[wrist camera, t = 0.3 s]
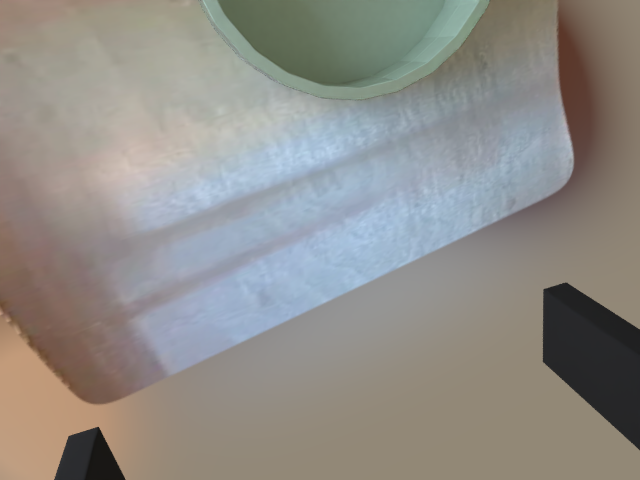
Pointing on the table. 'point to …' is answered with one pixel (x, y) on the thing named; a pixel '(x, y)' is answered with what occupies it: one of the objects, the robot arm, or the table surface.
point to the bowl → (344, 40)
